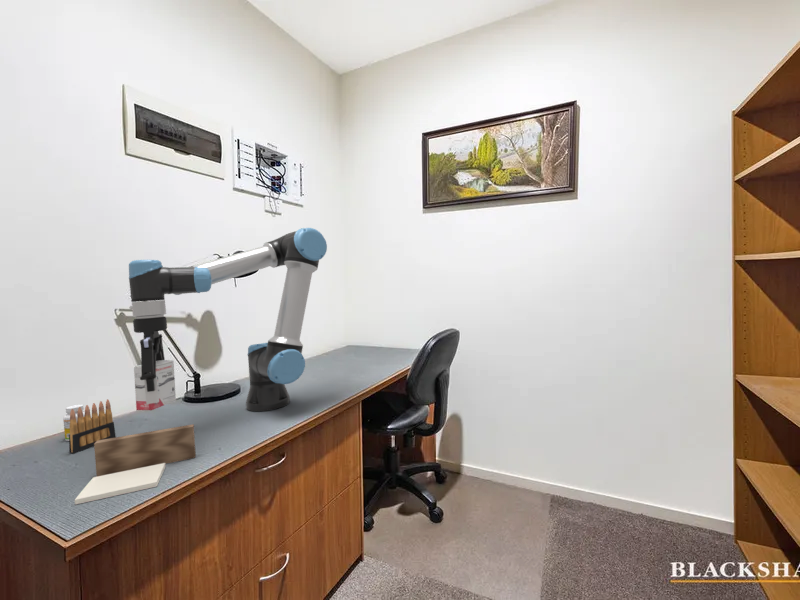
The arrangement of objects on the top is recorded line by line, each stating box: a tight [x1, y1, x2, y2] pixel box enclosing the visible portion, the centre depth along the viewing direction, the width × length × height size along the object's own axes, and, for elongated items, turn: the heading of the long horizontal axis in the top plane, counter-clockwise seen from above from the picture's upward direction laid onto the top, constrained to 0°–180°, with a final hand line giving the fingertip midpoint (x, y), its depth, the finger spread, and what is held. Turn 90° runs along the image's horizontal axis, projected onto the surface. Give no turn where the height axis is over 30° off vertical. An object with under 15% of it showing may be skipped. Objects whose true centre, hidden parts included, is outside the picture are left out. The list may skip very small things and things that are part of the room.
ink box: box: [133, 359, 177, 411], centre depth 100 cm, size 9×5×12 cm, turn 168°
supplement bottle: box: [63, 404, 85, 442], centre depth 111 cm, size 5×5×10 cm
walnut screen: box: [93, 424, 197, 477], centre depth 89 cm, size 20×2×8 cm, turn 114°
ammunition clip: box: [68, 399, 117, 455], centre depth 104 cm, size 11×2×12 cm, turn 159°
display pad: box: [74, 463, 166, 506], centre depth 81 cm, size 14×10×1 cm
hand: (156, 397), depth 100 cm, fingers closed on ink box, 9 cm apart
